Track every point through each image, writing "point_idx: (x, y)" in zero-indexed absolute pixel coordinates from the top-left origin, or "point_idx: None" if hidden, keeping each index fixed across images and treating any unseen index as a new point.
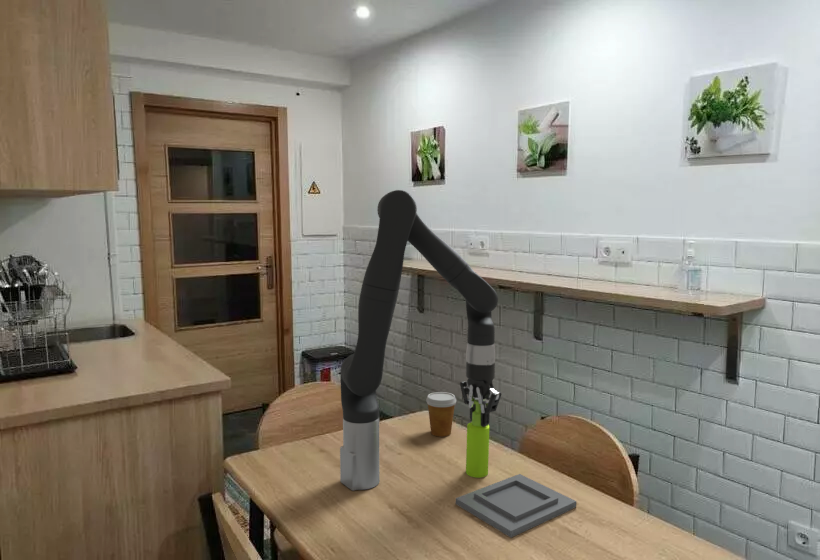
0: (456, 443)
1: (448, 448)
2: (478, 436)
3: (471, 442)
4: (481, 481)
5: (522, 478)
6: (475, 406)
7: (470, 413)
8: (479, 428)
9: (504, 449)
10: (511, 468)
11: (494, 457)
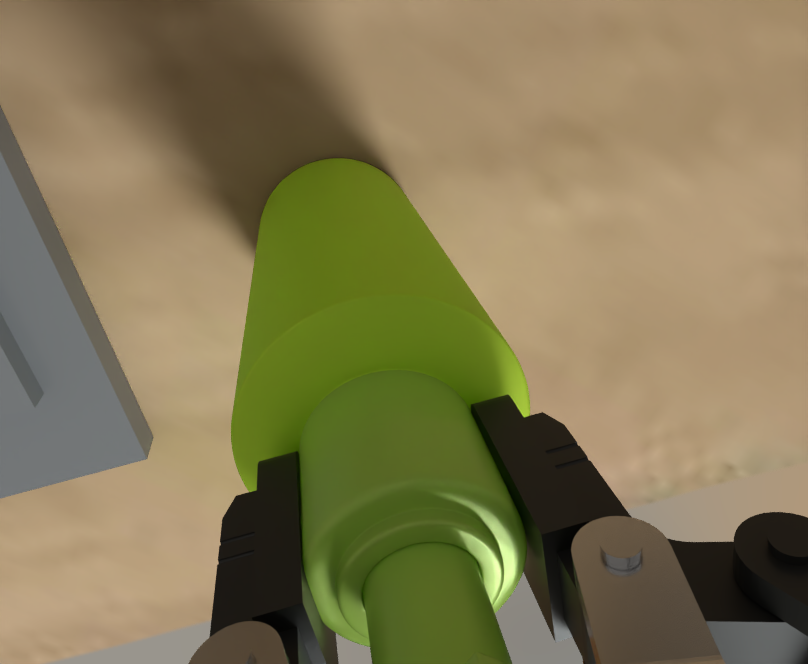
0: (773, 320)
1: (748, 239)
2: (249, 336)
3: (312, 247)
4: (203, 202)
5: (72, 446)
6: (574, 623)
7: (552, 460)
8: (268, 405)
9: None
10: None
11: None
